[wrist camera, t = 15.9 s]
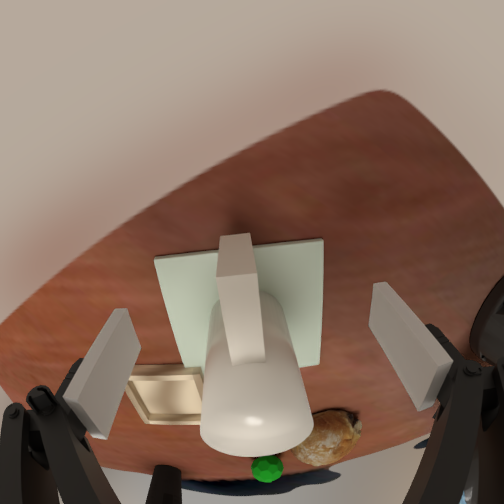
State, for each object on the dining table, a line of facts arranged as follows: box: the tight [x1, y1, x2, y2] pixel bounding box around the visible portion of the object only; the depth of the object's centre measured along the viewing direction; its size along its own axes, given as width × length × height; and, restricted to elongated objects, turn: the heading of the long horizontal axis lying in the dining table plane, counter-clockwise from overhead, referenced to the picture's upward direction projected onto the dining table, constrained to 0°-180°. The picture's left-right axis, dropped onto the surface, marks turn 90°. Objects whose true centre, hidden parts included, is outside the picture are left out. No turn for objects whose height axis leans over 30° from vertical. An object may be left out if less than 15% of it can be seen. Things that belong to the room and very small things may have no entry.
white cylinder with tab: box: [200, 233, 314, 457], centre depth 19 cm, size 13×7×12 cm, turn 5°
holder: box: [125, 364, 204, 425], centre depth 29 cm, size 9×9×2 cm
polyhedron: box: [251, 455, 283, 482], centre depth 35 cm, size 5×5×5 cm
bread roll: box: [291, 410, 362, 466], centre depth 33 cm, size 10×10×8 cm
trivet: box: [154, 238, 324, 376], centre depth 26 cm, size 14×14×1 cm
